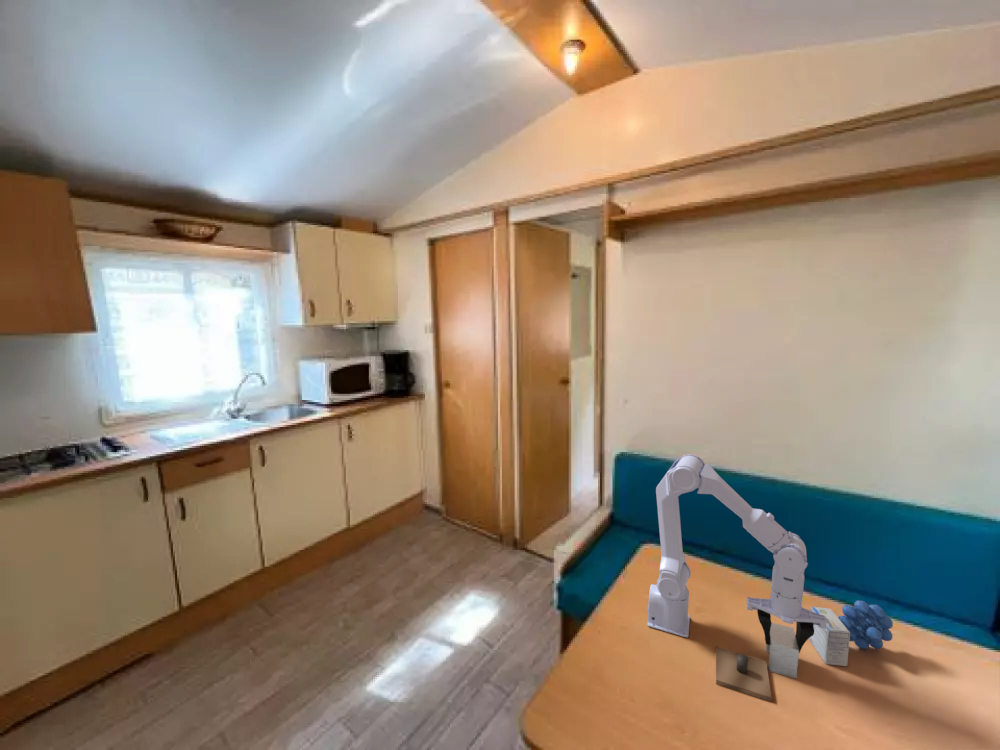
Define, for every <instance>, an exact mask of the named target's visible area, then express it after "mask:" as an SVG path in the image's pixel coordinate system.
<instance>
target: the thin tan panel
mask: <svg viewBox="0 0 1000 750" xmlns="http://www.w3.org/2000/svg"><path fill="white" fill-rule="evenodd" d="M715 683H716V685H718V686H722V687H724V688H728V689H730V690H734V691H737V692H740V693H743V694H746V695H748V696H751V697H754V698H755V697H756V698H758V699H761V700H764V701H766V702H769V703H770V702H772V693H771V685H770V679H769V670H768V665H767V661H766V660H763V659H760V658H757V657H754V656H750V655H747V654H744V653H740V652H736V651H733V650H730V649H726V648H723V647H719V646H717V645H716V646H715Z"/></svg>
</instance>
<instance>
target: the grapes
mask: <svg viewBox="0 0 1000 750" xmlns="http://www.w3.org/2000/svg"><path fill="white" fill-rule="evenodd" d="M853 605H854V606H852V605H850V604H845V605H842V608H841V610H842V611H841V612H842V613H843V614H842V615H839V616H837V617H838V618H839V619H840V621H841V622H842V623H843V624H844V626H845V627H846V628H847V629H848V631H849V632H850V641H849V642H854V644H855V646H856V647H858V648H859V649H862V650H867V649H869V647H870V646H871V648H873V649H875V650H880V649H882V648H884V642H890V641H892V639H893V633H892V631H891V630H890V629H892V628H893V627H894V624H893V623H894V622H893V621H892V619H891V618H890V617H889V616H888V615H885V611H884V610H883V608H882V607H881V606H880V605H878V604H870V605H869V604H868V603H867V602H865V601H864V600H856V601H855V602H854V604H853Z"/></svg>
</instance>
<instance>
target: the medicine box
mask: <svg viewBox="0 0 1000 750" xmlns="http://www.w3.org/2000/svg"><path fill="white" fill-rule="evenodd" d="M810 611H812V612H815V613H818V614H821V615H824V616H825V618H826V621H827V623H826V629H822V628H820V627H819V626H818V625H814V626H813V627H814V634H813V636H811V637H810V638H809V639H808V640H809V641H810V642H811V644H812V645H813V647H814V648H815V650H816V652H817V653H818V654H819V655H820V657H821V659H822V660H823V662H824V663H825V664H826V665H831V666H832V665H833V666H841V667H847V666H848V661H849V660H848V659H849V650H850V642H851V641H850V632H849V631H848V629H847V628H846V627H845V626H844V624H843V623H842V622H841V621H840V619H839V618H838V617H839V616H838V615H836V613H835V612H834V611H833V609H832V608H826V607H820V606H819V607H817V606H811V607H810Z"/></svg>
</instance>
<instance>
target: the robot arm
mask: <svg viewBox="0 0 1000 750" xmlns="http://www.w3.org/2000/svg"><path fill="white" fill-rule="evenodd" d="M696 489H697V492H696V493H697V494H699V495H712V496H713V497H715V498H716V499H717V501H720V502H721V503H722V504H723V505H724V506H725V507H726V508H728V509H729V510H730V511H732V512H733V513H734V514H735V515H737V516H738V517H739V518H740V519H741V520H742V528H743V529H745V530H746V532H747V533H749V534H750V535H751V536H752V538H754V539H756V540H757V542H759V543H760V544H761V545H762V546H763V547H764V548H766V550H768V551H769V552H771V553H772V554H773V555H772V557H773V561H774V565H773V566H772V573H771V574H772V576H771V585H770V598H760V597H759V598H758V597H757V598H756V597H750V596H747V597H746V609H747V610H748V611H753V610H755V611H756V612H757V617H758V622H759V623H760V625H761V627H762V630H763V634H764V641H765V645H766V644H767V645H770V629H771V624H772V623H773V622H772V617H771V615H772V616H774V617H777V618H778V619H780V620H781V621H782V622H783V623H786V624H790V625H792V624H794V622H795V623H796V626H795V627H796V628H795V629H796V630H795V636H796V640H797V644H798V648H799V654H801V651H802V648H803V646H804V645H805V643H806V642H807V641H808V640H809V638H810V637H811V636H813V634H814V627H813V626H814V625H818V626H819V627H820V628H822V629H826V623H827V621H826V618H825V616H824V615H821V614H818V613H815V612H812V611H811V609H807V608H805V607H803V595H804V585H805V570H806V568H807V567H808V565H809V563H808V562H807V561H808V558H807V556H808V555H807V548H806V547H807V546H806V544H805V542H804V541H803V540H802V539H801V537H800V535H798V534H796V533H793V532H792V531H787V530H786V529H785V528H784V527H783V526H782V525H780V524H779V523H778V522H777V521H776V520H775V516H774V515H773V514H772V513H771V512H768V513H767V512H766V511H765V510H764V509H762V508H761V509H760V508H753V507H752V506H751V505H750V504H749V503H748V502H747V501H746V500H744V498H743V497H741V495H740V494H738V493H737V492H736V490H734V489H733V488H732V487H731V486H730V485H729V484H728V483H727V482H726V481H725V480H724V479H723V478H722V477H721V476H720V475H719V474H718V473H717V472H716V471H715V469H714V468H713V467H712V466H711V465H710V464H708V463H705V462H704V460H703V459H702V458H701V457H699V456H698V455H695V454H684V455H682V456H681V457H679V458H678V459H676V460H675V461H674V462H673V463H672V464H671V466H670V467H669V469H668V470H667V472H666V473H665V475H664V476H663V477H662V479H661V480H660V482H659V483H658V484H657V486H656V487H655V494H656V506H657V518H658V529H659V540H660V552H661V553H660V554H661V558H660V563H659V577H658V578H657V580H656V584H652V583H651V584H650V586H649V593H648V605H647V613H648V614H647V627H650V628H653V629H655V630H660V631H663V632H666V633H669V634H673V635H677V636H680V637H683V638H689V633H690V632H689V631H690V617H691V616H690V615H689V602H690V601H689V600H690V597H689V596H690V590H689V588H688V586H687V584H688V581H689V579H690V577H691V572H692V571H691V569H690V566H689V565H688V563H687V560H686V559H687V558H686V555H685V554H684V551H683V541H682V527H681V526H682V525H681V514H680V503H679V496H681V495H682V494H686V493H690V492H693V491H695V490H696ZM771 622H772V623H771Z"/></svg>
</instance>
